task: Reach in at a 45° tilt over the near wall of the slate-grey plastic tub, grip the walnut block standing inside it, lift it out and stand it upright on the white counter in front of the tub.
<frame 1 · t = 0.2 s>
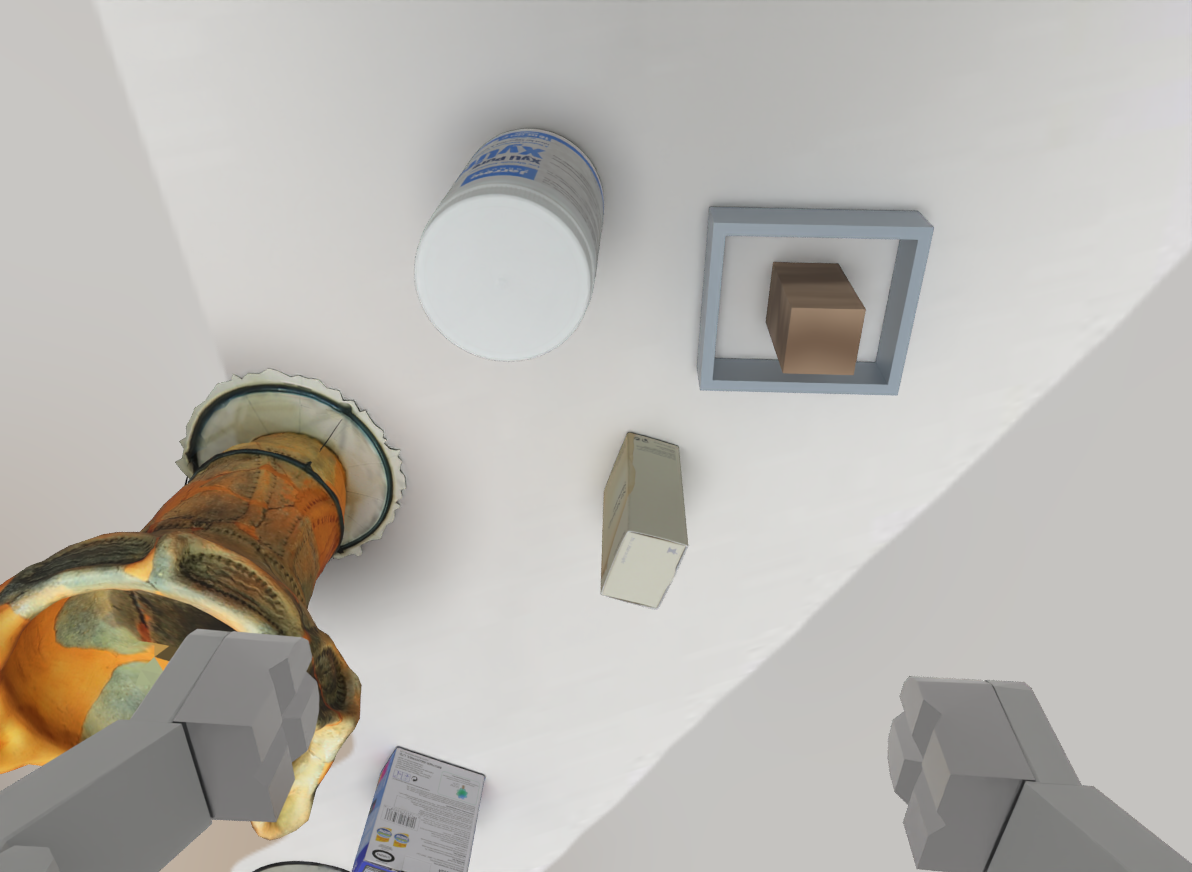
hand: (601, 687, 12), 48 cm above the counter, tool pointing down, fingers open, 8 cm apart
skincare box: (641, 468, 67), on the counter
ink cartridge box: (432, 773, 87), on the counter
decorative vase: (292, 469, 68), on the counter
supplement tub: (532, 200, 57), on the counter
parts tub: (801, 293, 59), on the counter
walnut block: (811, 316, 56), in the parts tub
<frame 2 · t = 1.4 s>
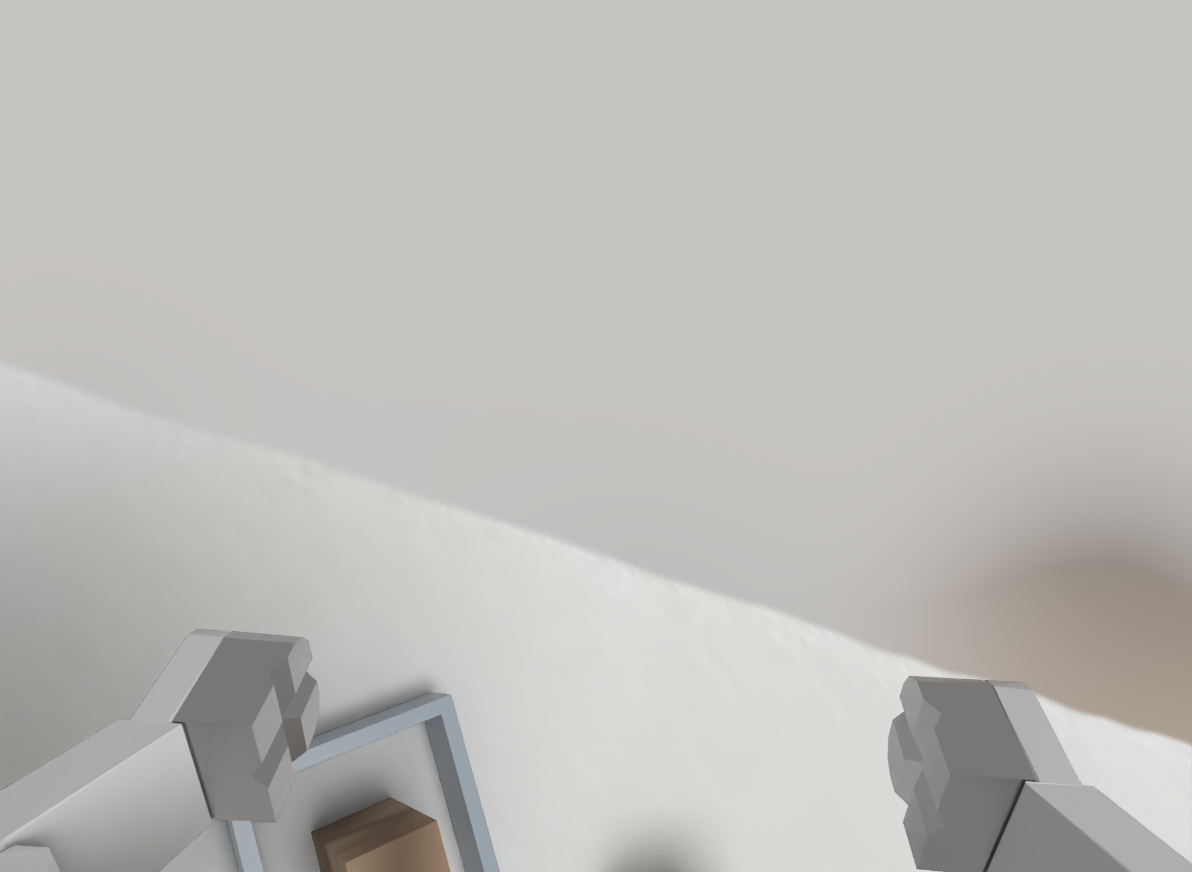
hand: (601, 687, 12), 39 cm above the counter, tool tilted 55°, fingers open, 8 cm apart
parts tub: (362, 855, 46), on the counter
walnut block: (381, 870, 43), in the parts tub
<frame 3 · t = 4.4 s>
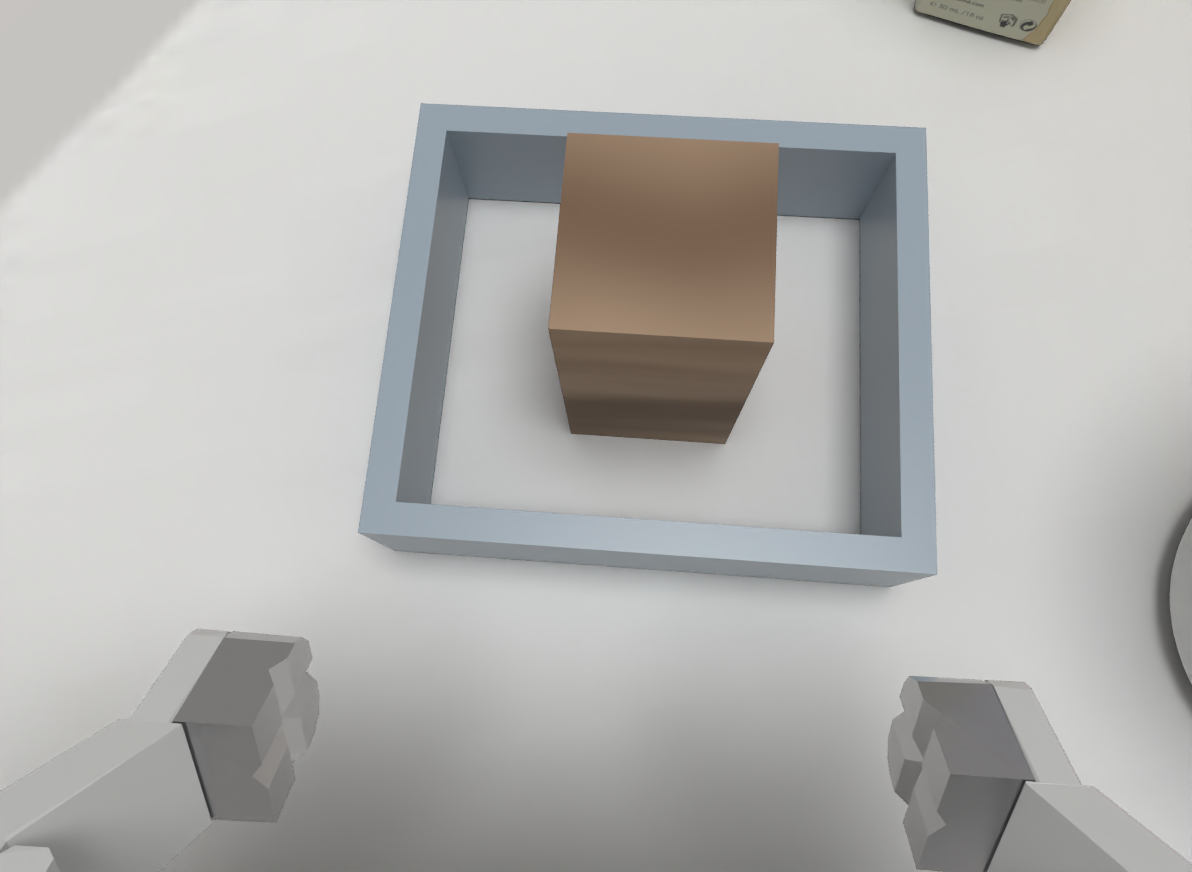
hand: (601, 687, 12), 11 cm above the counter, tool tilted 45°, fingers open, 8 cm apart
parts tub: (652, 365, 25), on the counter
walnut block: (658, 312, 21), in the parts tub
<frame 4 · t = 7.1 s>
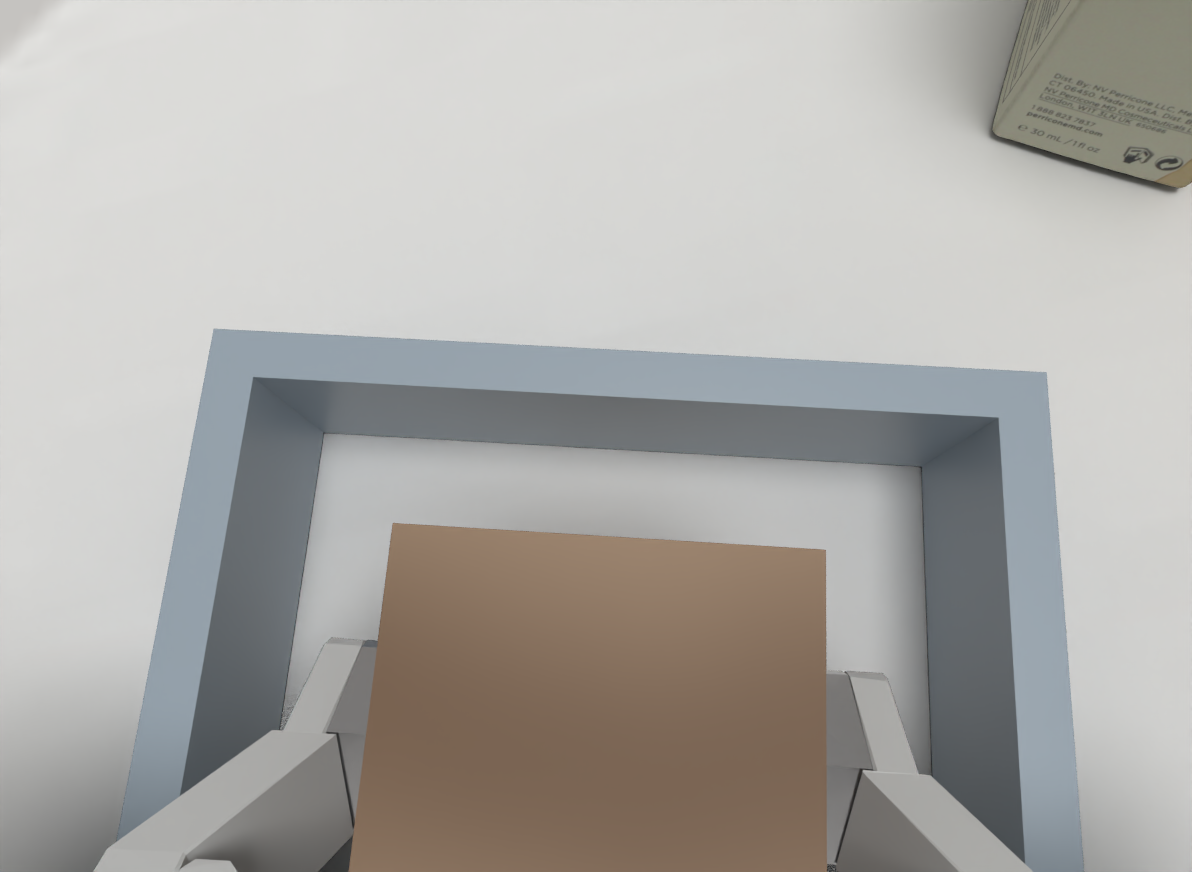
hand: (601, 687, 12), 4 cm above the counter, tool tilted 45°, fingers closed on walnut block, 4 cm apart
skincare box: (1102, 57, 19), on the counter
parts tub: (603, 716, 16), on the counter
walnut block: (599, 733, 12), in the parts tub, touching gripper
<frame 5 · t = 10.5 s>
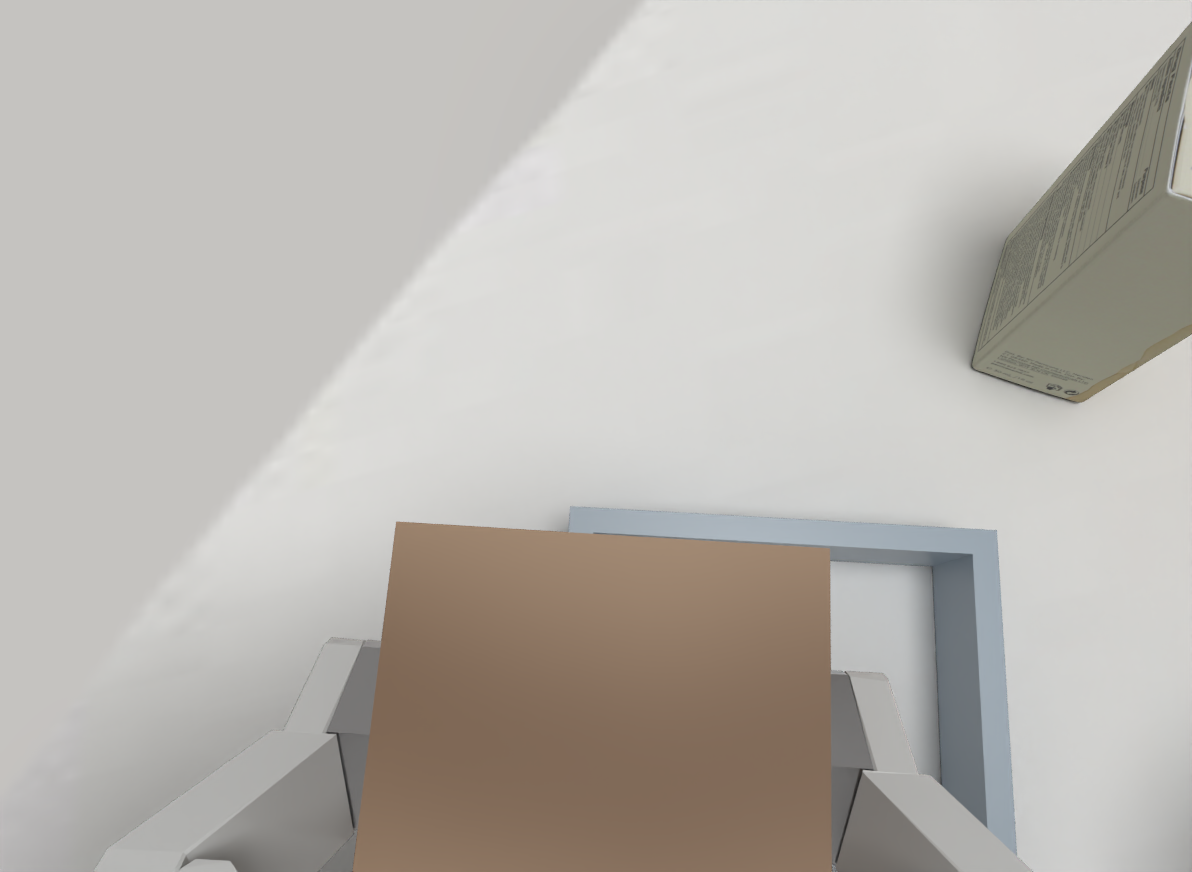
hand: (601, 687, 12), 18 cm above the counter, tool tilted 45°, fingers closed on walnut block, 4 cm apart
skincare box: (1037, 316, 33), on the counter
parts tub: (761, 705, 29), on the counter
walnut block: (602, 732, 12), point 18 cm above the counter, touching gripper
when the fingers open (6 cm above the counter, at t = 14.3 s): walnut block drops 1 cm, on the counter.
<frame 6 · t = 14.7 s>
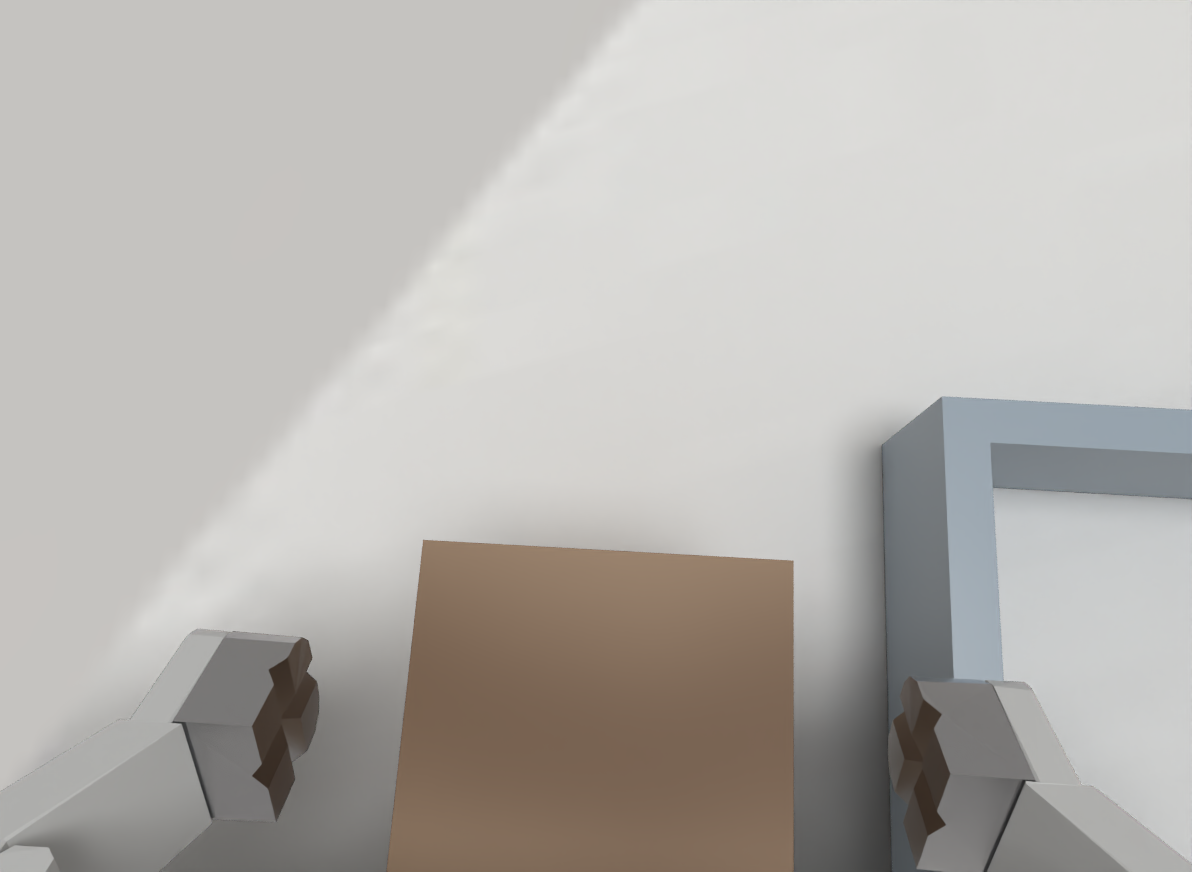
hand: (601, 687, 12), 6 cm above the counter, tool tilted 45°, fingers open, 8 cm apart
walnut block: (601, 722, 13), on the counter
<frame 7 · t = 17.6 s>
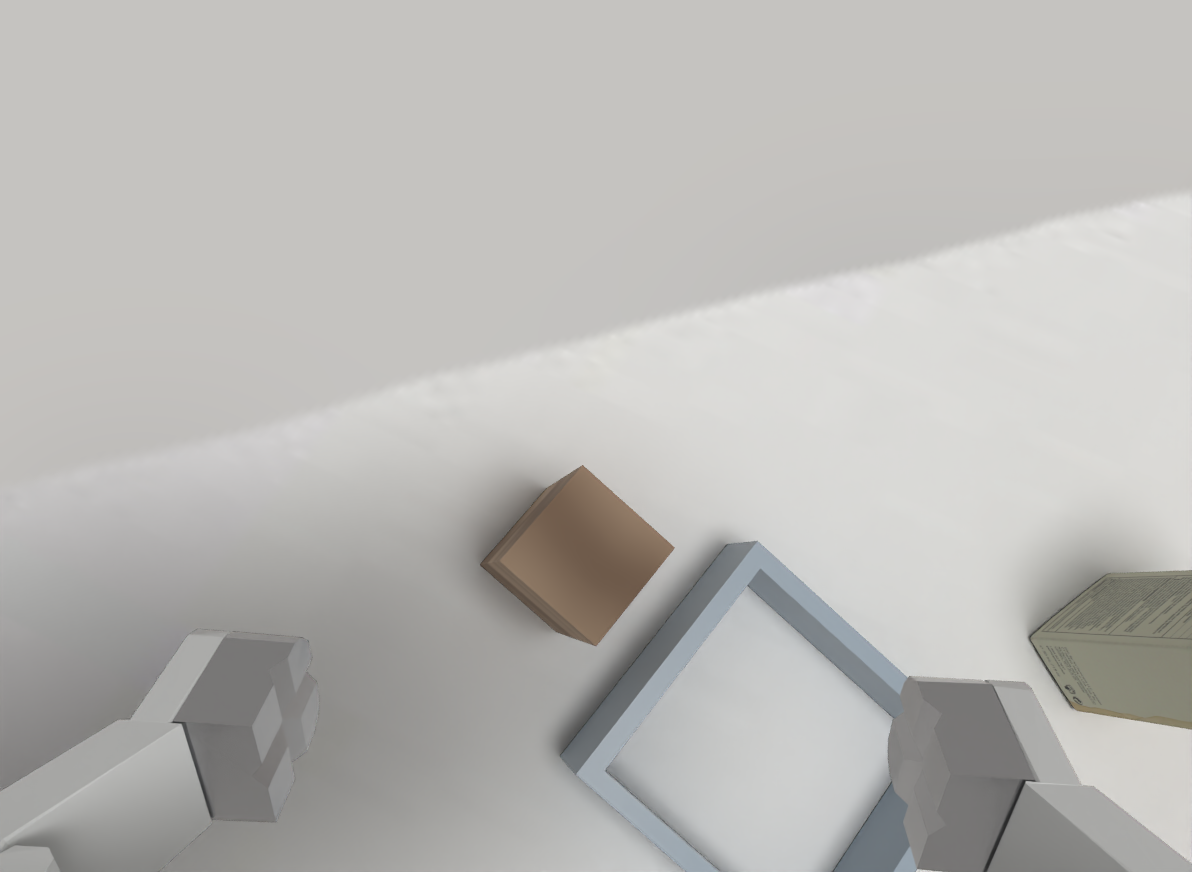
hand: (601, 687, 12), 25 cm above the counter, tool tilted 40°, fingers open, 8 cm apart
skincare box: (1088, 636, 43), on the counter
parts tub: (759, 746, 38), on the counter
walnut block: (568, 557, 33), on the counter
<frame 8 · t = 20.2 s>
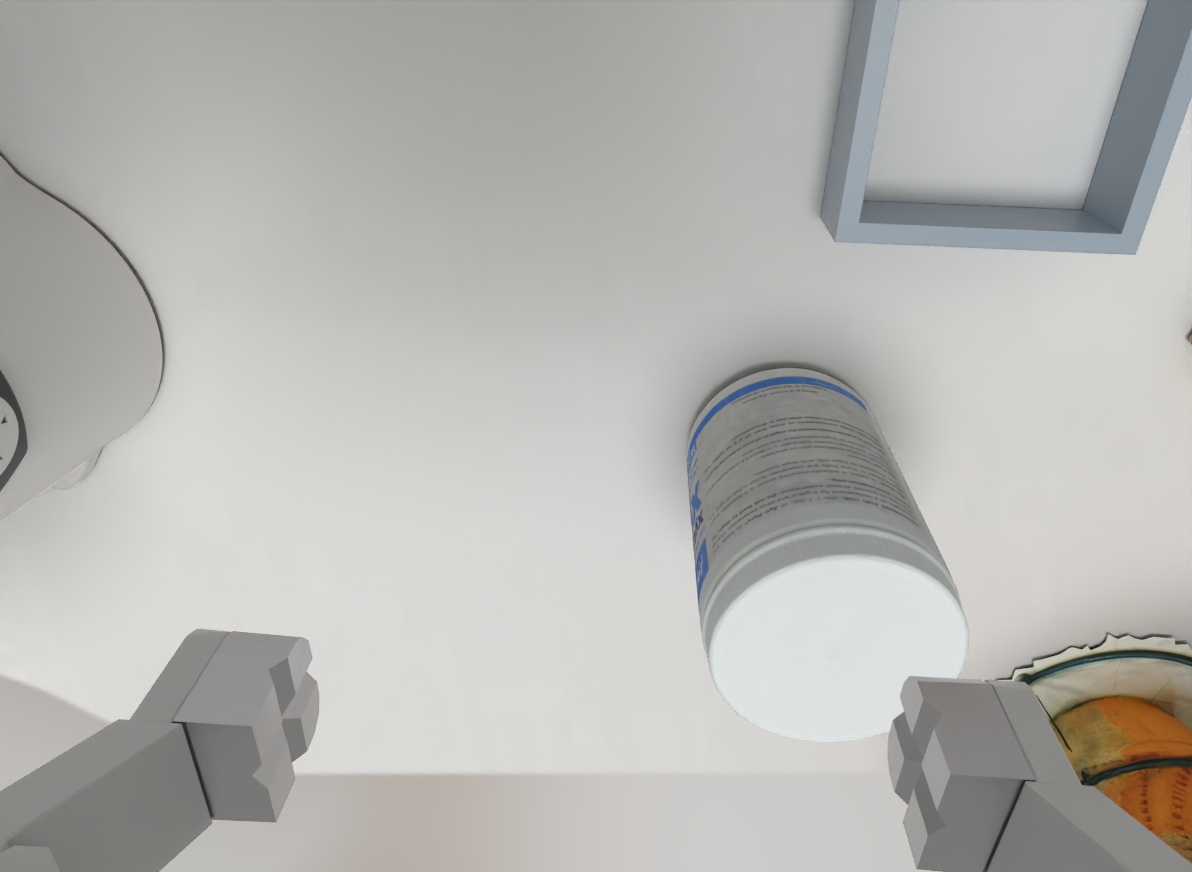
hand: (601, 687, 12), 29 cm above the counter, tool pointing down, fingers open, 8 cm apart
decorative vase: (1095, 742, 53), on the counter
supplement tub: (780, 444, 43), on the counter
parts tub: (998, 52, 34), on the counter
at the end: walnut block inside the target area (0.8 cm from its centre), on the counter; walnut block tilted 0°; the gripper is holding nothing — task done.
